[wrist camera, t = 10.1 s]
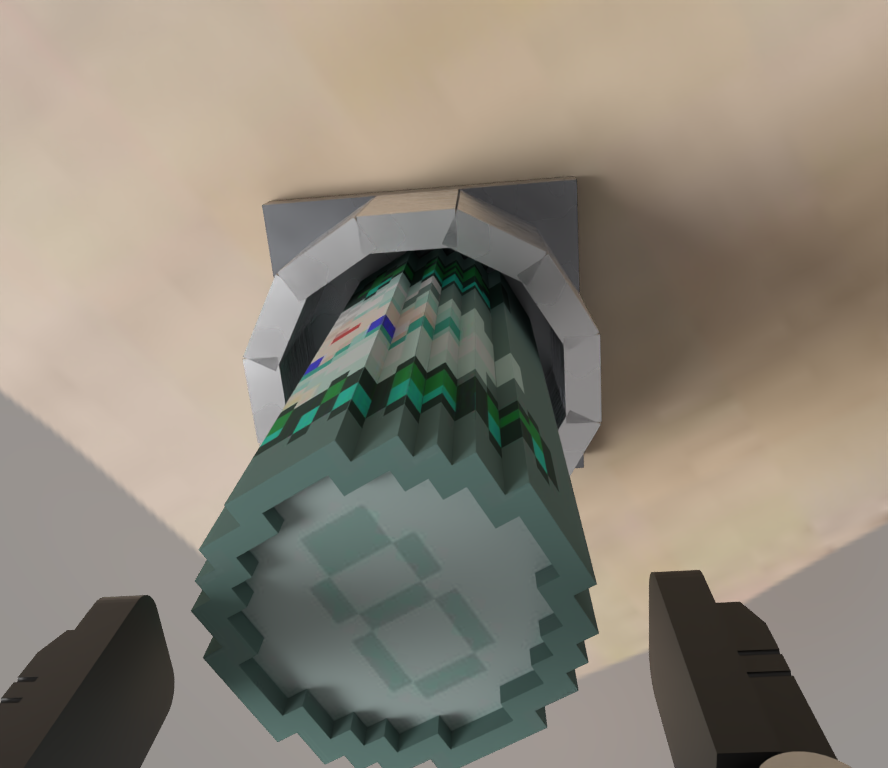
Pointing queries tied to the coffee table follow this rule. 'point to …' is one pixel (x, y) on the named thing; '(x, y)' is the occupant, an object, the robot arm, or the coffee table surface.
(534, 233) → the collar holder
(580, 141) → the coffee table surface
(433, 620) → the can
